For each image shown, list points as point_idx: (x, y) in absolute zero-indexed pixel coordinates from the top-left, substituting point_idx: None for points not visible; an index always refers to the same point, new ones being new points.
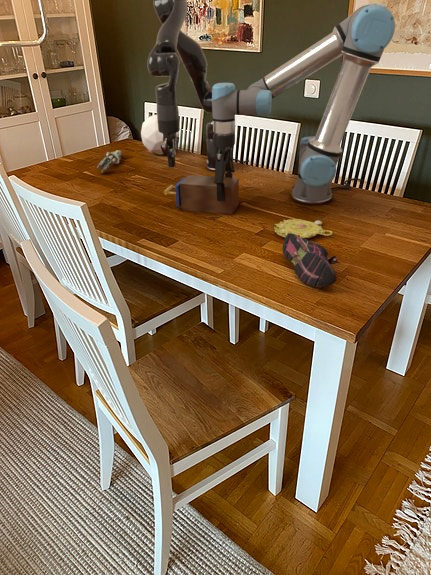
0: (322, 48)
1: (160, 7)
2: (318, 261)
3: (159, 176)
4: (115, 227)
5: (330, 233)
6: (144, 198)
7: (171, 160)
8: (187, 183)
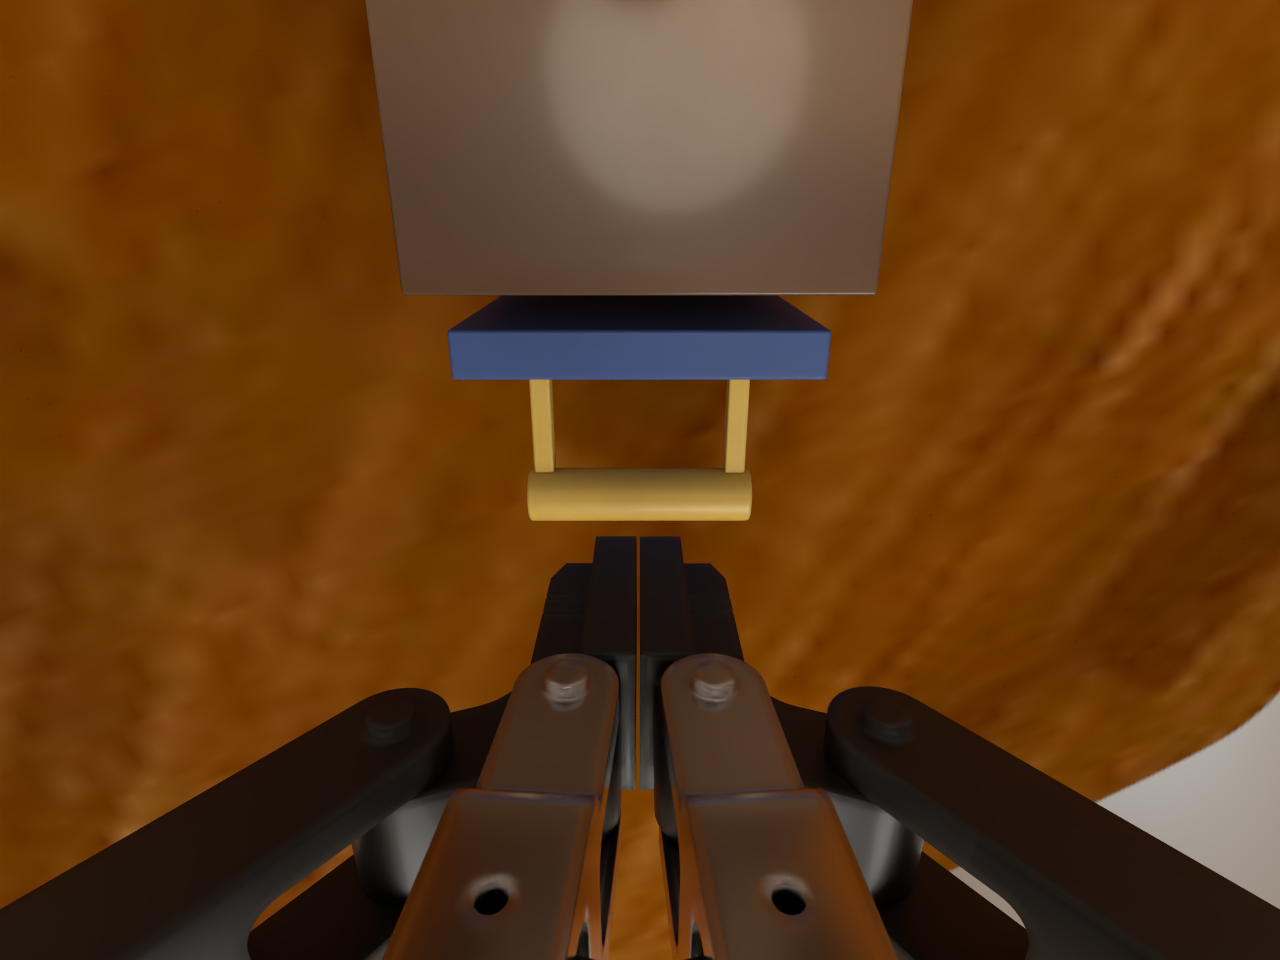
0: None
1: None
2: None
3: (22, 769)
4: (1185, 666)
5: None
6: None
7: (739, 649)
8: (854, 155)
